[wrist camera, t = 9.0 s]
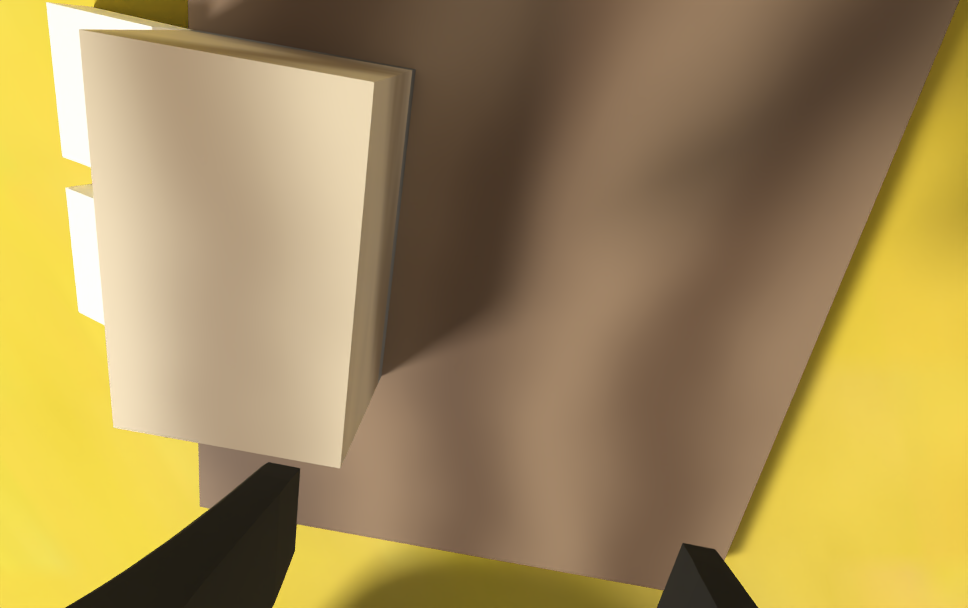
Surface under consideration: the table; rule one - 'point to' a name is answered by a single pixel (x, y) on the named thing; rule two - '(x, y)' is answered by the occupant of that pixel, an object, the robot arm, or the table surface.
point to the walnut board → (600, 259)
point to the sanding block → (244, 235)
